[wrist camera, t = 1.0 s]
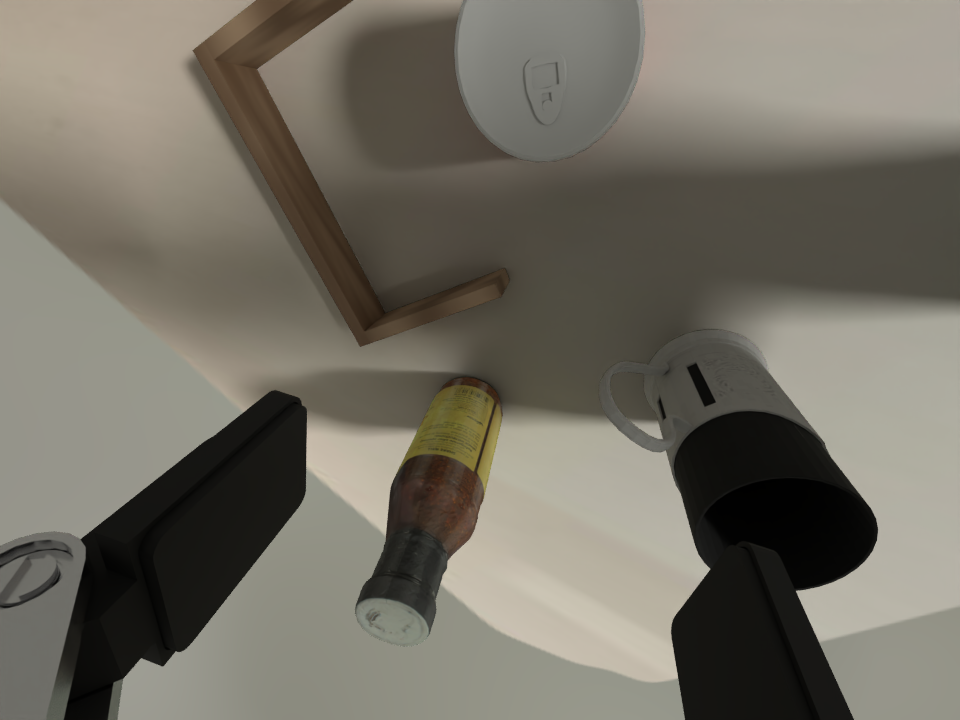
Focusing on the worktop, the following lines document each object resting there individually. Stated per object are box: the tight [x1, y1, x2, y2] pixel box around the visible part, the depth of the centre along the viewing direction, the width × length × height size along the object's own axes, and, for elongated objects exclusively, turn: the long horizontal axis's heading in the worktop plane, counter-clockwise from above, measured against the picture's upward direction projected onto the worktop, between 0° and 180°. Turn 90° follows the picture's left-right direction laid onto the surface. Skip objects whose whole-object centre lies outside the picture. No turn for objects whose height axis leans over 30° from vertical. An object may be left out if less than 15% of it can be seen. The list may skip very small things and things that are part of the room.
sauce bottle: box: [355, 377, 502, 646], centre depth 30 cm, size 7×6×20 cm
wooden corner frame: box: [193, 0, 510, 347], centre depth 30 cm, size 12×21×4 cm, turn 24°
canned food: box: [454, 0, 645, 162], centre depth 22 cm, size 8×8×11 cm
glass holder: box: [599, 329, 878, 591], centre depth 27 cm, size 9×14×15 cm, turn 61°
